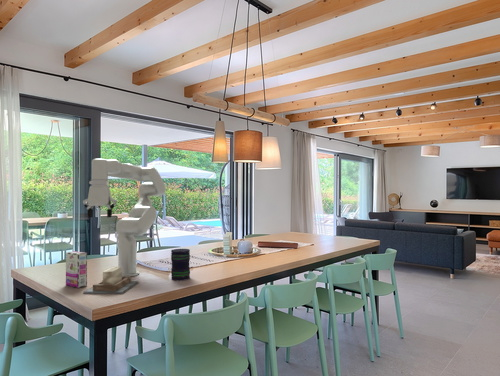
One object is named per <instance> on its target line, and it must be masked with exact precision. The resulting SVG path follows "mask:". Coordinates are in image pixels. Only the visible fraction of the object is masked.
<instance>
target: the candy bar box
mask: <svg viewBox="0 0 500 376" xmlns="http://www.w3.org/2000/svg"><path fill="white" fill-rule="evenodd" d="M65 286H68V287H72V288H77V289H80V288H85V287H87V286H88V252H85V251H84V252H83V251H73V250H72V251H67V252H65Z"/></svg>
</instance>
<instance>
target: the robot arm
mask: <svg viewBox="0 0 500 376" xmlns="http://www.w3.org/2000/svg"><path fill="white" fill-rule="evenodd" d="M109 177H112V178H118V179H125V180H130V181H131V180H132V181H137V182H141V183H140V185H139V187H138V201H137V202H136V204H134V206H133V207H132V208H131V209H130V211H129V213H128V217H123V218H120V219H118V220H117V223H116V227H115V228H116V233H117V240H118V241H117V243H118V244H117V245H118V248H117V251H118V252H117V253H118V254H117V256H118V259H117V260H118V262H117V263H118V266H117V267H122V277H136V276H138V275H140V271H139V270H137V268H138V265H137V240H136V238H135V236H143V235H145V234H146V233H147V232H148V231H149V229H150V228H151V227H152V225H153V224H154V223H155V222H156V219H157V214H158V212H157V209H156V208H155V206H153V202H152V200H151V198H150V197H161V196H164V194H165V193H166V191H167V189H166V185H165V182H164V181H163V178H162V176H161V174H160V173H159V171H158V170H157V169H156V168H155V167H153V166H138V165H135V164H132V163H122V162H121V161H119V160H117V159H105V158H93V159H92V160H91V179H90V180H89V182H88V183H89V184H90V186H89V188H88V195H87V198H85V199H84V200H82V204H83V205H84V208H86V210H87V217H88V218H89V219H90V218H93V217H94V210H93V208H94V207H103V206H105V207H106V209H107V211H106V214H107V215H106V218H112V217H113V216H112V215H113V209H114V208H115V206H116V205H117V203H118V200H117V199H115V198H113V197H112V195H111V190H110V186H109V181H108V180H109Z"/></svg>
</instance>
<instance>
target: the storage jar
mask: <svg viewBox="0 0 500 376" xmlns="http://www.w3.org/2000/svg"><path fill="white" fill-rule="evenodd" d="M190 250H191V249H190V248H189V249H188V248H175V249H171V250H170V251H171V253H170V254H171V255H170V257H171V259H170V260H171V269H170V270H171V271H170V274H171V280H172V281H178V282H179V281H187V280H190V278H191V276H190V275H191V268H190V267H191V266H190V260H191V258H190V257H191V255H190V254H191V252H190Z"/></svg>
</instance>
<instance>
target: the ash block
mask: <svg viewBox="0 0 500 376" xmlns="http://www.w3.org/2000/svg"><path fill="white" fill-rule="evenodd" d="M102 280H103V284H116V283H118V282H119V281H121V280H122V267H118V266H112V267H109V268H108V269H105V270H103V271H102Z"/></svg>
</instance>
